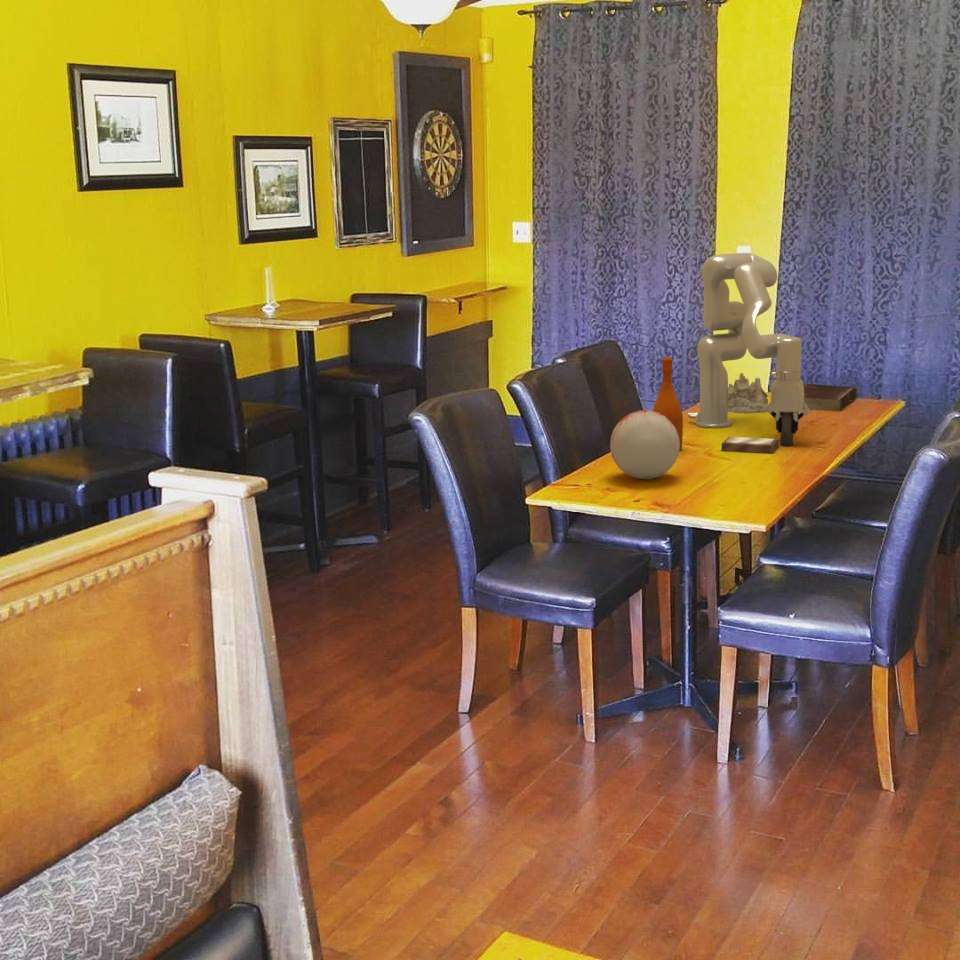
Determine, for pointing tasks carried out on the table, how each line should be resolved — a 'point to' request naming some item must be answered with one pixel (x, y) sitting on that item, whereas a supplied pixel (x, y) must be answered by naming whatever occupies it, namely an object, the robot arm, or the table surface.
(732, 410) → the miniature castle
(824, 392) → the hardback book
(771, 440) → the picture frame
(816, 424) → the table surface
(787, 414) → the marker
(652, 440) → the decorative orb
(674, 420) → the wine bottle
